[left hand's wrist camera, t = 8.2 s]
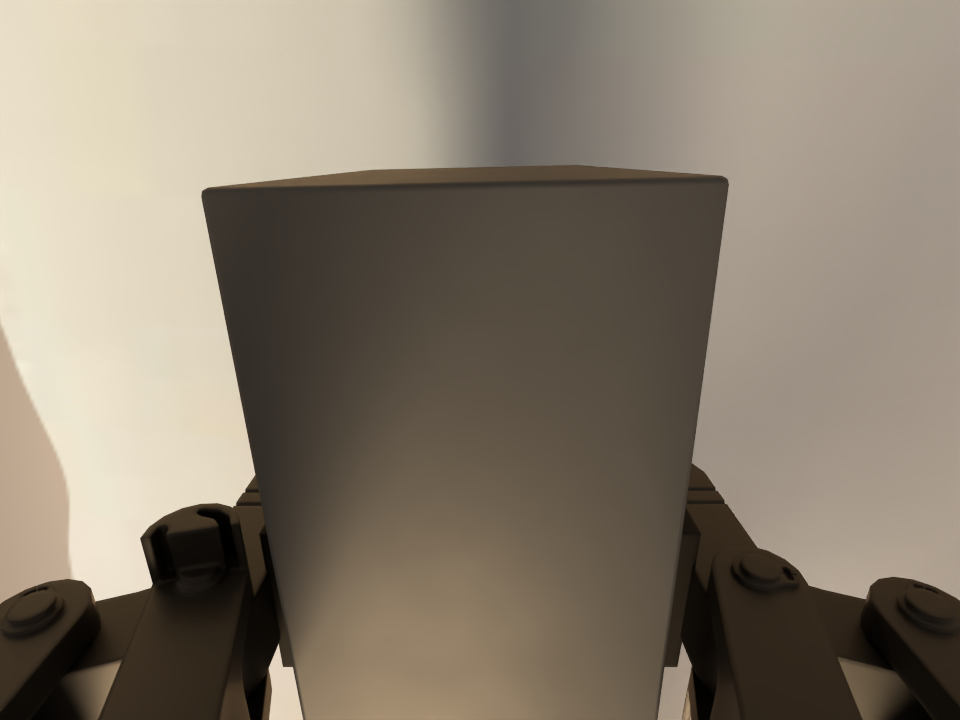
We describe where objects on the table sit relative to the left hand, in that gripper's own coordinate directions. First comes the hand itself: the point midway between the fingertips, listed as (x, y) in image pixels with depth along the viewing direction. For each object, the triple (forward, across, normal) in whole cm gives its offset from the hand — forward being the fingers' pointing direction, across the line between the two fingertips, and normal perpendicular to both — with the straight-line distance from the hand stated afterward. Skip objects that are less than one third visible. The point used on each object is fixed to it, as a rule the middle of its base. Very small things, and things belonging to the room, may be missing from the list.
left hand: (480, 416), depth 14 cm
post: (0, +1, -27) cm, 27 cm away
